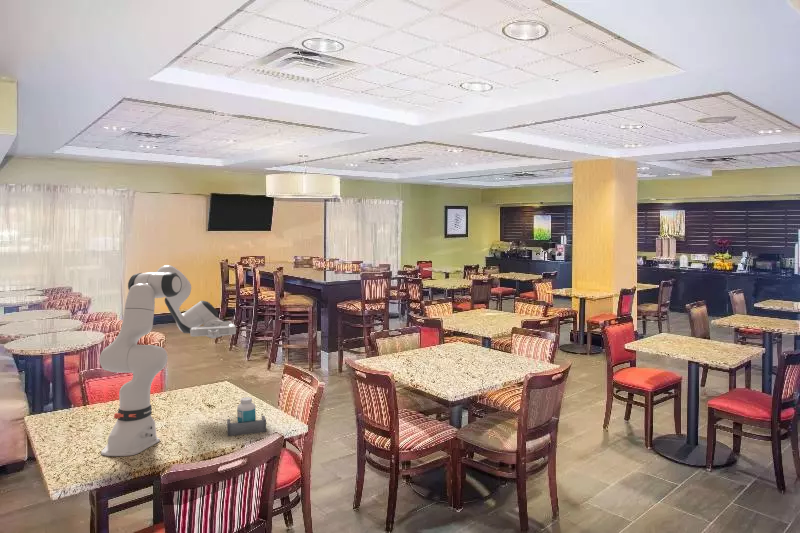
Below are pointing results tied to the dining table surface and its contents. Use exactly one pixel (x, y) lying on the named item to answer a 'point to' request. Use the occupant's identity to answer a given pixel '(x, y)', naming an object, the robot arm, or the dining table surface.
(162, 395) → the dining table surface
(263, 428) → the bracket
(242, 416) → the pill bottle
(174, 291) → the robot arm
